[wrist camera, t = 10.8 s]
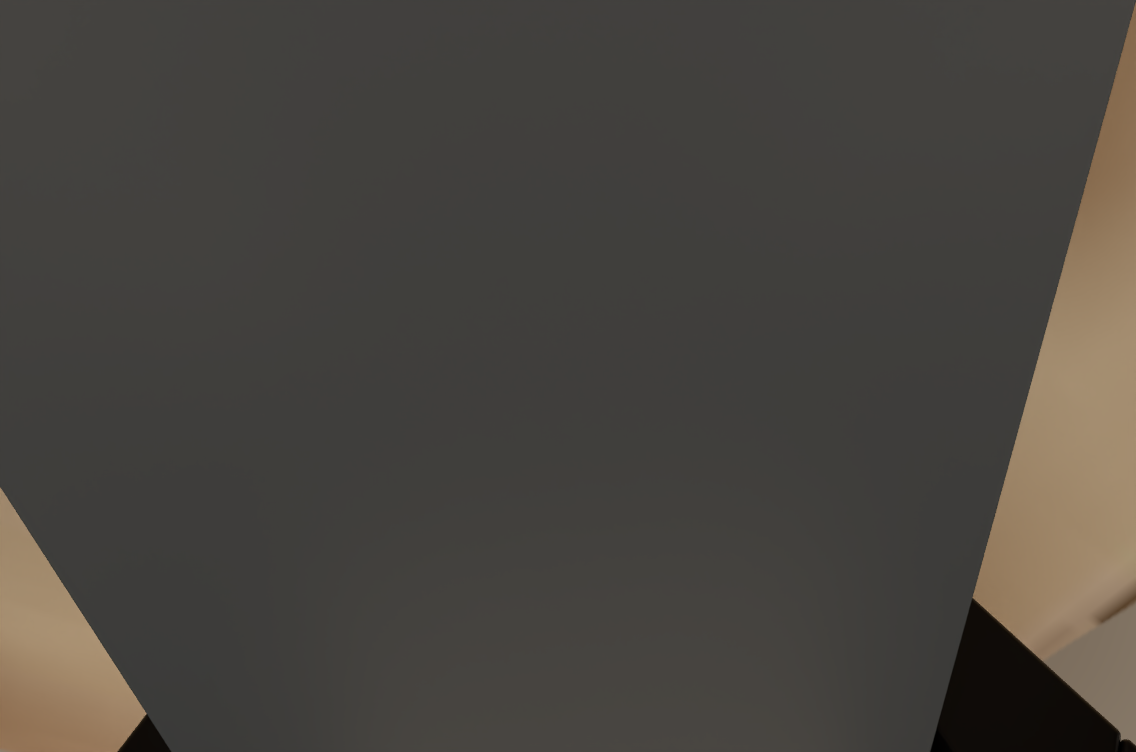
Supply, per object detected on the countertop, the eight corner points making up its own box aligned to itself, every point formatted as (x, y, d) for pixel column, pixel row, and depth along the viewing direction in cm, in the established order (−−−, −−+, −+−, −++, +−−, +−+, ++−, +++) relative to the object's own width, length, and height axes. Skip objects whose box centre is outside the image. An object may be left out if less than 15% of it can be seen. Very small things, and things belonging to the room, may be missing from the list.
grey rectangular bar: (738, 737, 14) (825, 1131, 10) (455, 767, 14) (443, 1172, 10) (781, -300, 6) (1184, -169, 3) (148, -230, 6) (-314, 0, 3)
